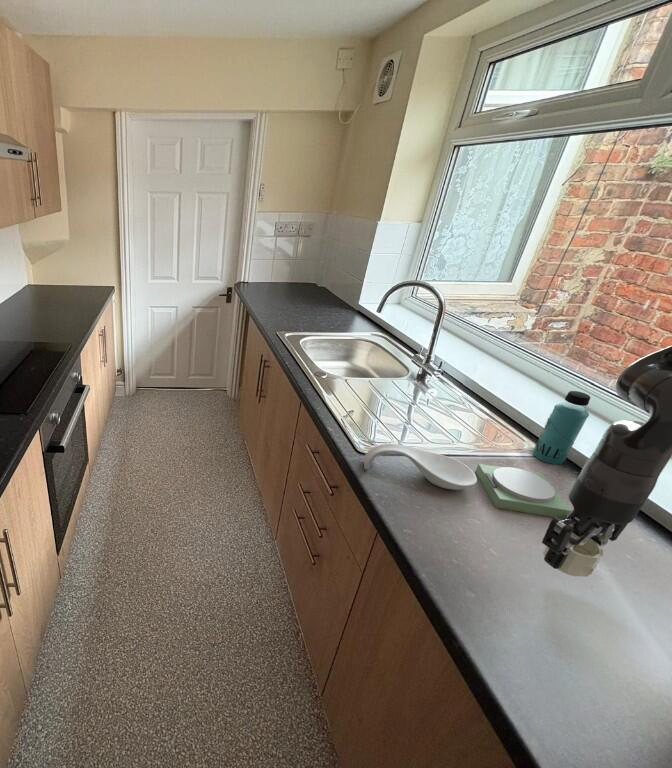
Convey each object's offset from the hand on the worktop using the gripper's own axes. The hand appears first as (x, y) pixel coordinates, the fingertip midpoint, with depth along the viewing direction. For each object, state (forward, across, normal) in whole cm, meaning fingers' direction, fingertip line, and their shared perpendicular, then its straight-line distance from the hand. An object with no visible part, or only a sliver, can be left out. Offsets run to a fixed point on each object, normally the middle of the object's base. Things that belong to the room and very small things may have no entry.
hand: (567, 560), depth 72 cm
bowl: (+1, 0, 0) cm, 1 cm away
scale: (+7, +17, +21) cm, 28 cm away
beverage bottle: (+7, +36, +29) cm, 46 cm away
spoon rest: (+7, -1, +32) cm, 33 cm away
